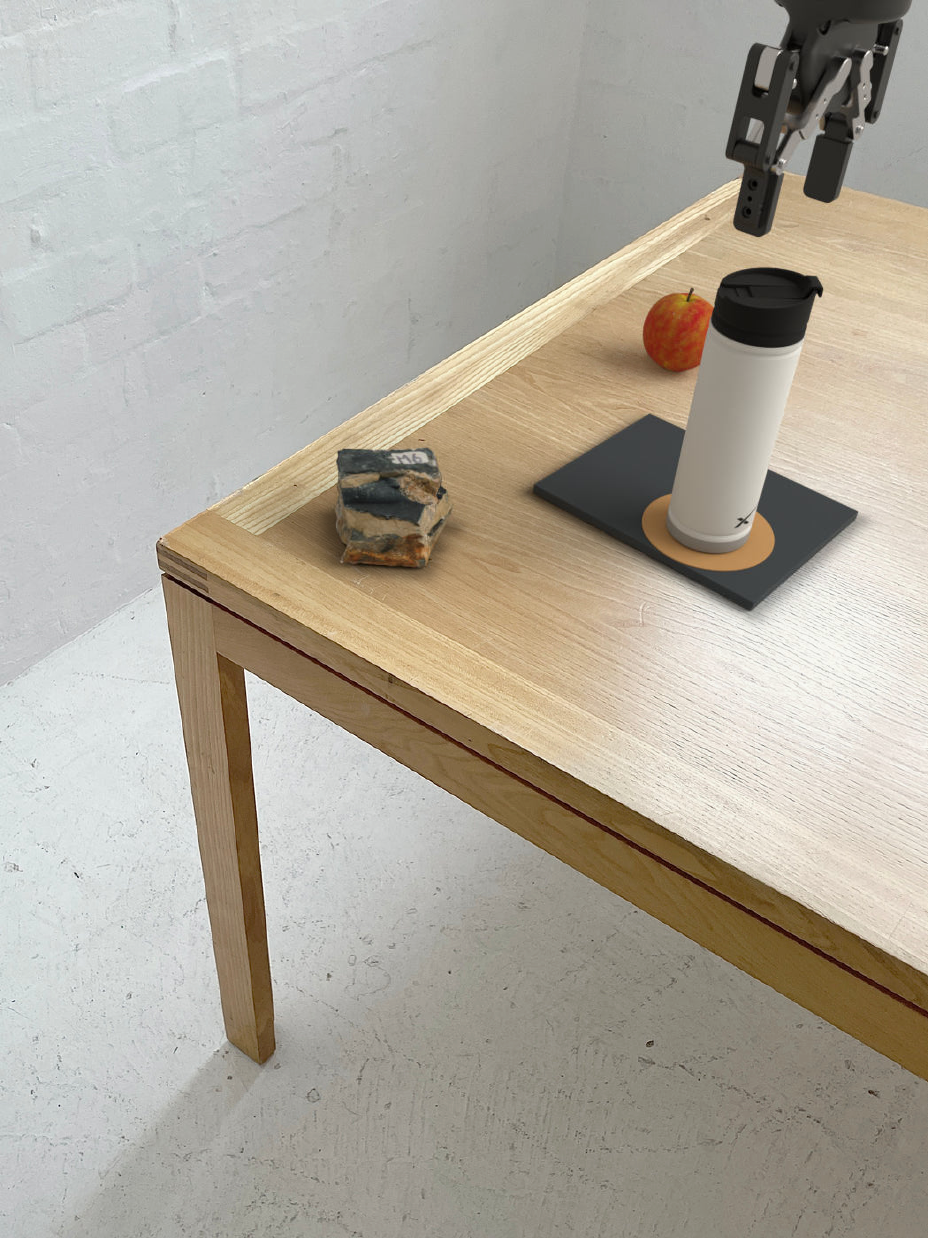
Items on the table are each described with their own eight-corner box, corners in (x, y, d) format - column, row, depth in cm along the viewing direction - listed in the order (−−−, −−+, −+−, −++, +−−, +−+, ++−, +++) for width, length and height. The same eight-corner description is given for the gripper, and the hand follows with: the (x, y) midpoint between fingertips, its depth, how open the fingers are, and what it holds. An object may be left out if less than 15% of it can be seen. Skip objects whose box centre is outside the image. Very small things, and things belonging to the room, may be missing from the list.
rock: (341, 574, 80) (340, 509, 76) (332, 498, 87) (331, 434, 83) (461, 569, 81) (466, 504, 78) (443, 494, 88) (447, 431, 85)
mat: (856, 519, 89) (859, 510, 89) (750, 611, 80) (753, 601, 79) (648, 420, 99) (649, 411, 98) (532, 492, 89) (533, 483, 89)
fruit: (626, 351, 108) (640, 271, 103) (693, 346, 110) (710, 267, 104) (653, 387, 103) (668, 305, 98) (722, 382, 105) (742, 301, 99)
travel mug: (759, 558, 83) (834, 303, 70) (670, 552, 83) (728, 296, 70) (745, 508, 88) (813, 261, 75) (660, 503, 88) (713, 254, 74)
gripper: (865, -65, 53) (781, 266, 64) (984, -92, 62) (893, 205, 72) (728, -92, 57) (671, 225, 67) (859, -114, 65) (789, 172, 76)
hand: (786, 214), depth 70 cm, fingers open, 8 cm apart
